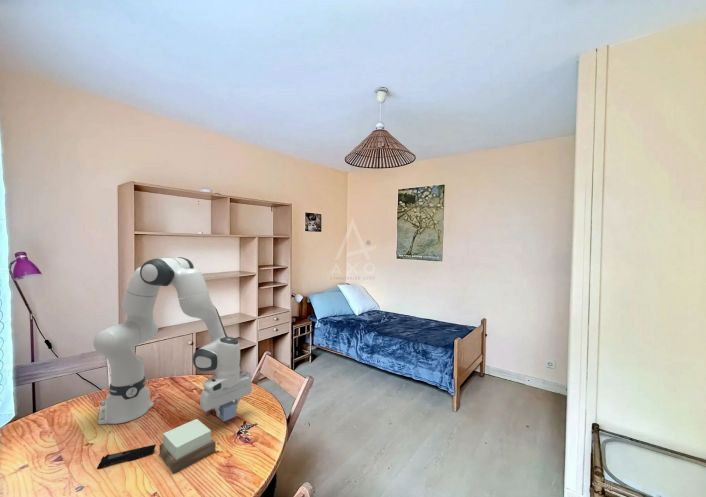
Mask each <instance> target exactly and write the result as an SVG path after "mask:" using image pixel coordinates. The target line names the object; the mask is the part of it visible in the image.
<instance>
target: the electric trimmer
mask: <svg viewBox="0 0 706 497" xmlns="http://www.w3.org/2000/svg"><path fill="white" fill-rule="evenodd" d="M156 446H157V444H151V445H147V446H142V447H138V448H133V449H129V450H128V449H127V450H125V451H124V450H123V451H121V452H117V453H112V454H106V455H105V456H104V455H103V456H102V457H101V460H100V462H99V463H98V466H97V467H96V469H98V470H101V469H102V468H104V467H106V466H110V465H113V464H118V463H120V462H121V463H122V462H125V461H133V460H136V459H140V458H142V457H144V456H148V455H150V454H153V453H154V451H155V448H156Z"/></svg>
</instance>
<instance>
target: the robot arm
mask: <svg viewBox="0 0 706 497" xmlns="http://www.w3.org/2000/svg"><path fill="white" fill-rule="evenodd" d="M169 285H171V286H173V287H174V288H175V291H176V294H177V298H178V302H179V307H180V308H181V311H182V313H184V314H185V315H186V316H187V317H191V318H194V319H199V320H201V321H202V322H204V324H205V326H206V328H207V331H208V334H209V337H210V342H209V343H207V344H205V345H203V346H201V347H200V348H198V349H197V350H195V352H194V353H193V356H192V365H193V366H194V368H195V369H197V370H198V371H201V372H211V371H215V374H214V375H213V376H211V377H209V378H208V379H206V380H205V381H204V382H203V384H202V387H203V389H202V391H201V393H200V401H199V407H200V409H201V410H202V411H204V412H205V413H206V412H207V411H208V410H211V409H213V410H214V409H215V410H216V412H215V413H216V414H215V415H216V417H218V418H219V416H221V415H222V411H221V410H218V409H219V408H220V406H221V405H223V404H226V403H228V402H231V401H233V402H234V403H236V410H238V405H239V404H240V401H241V398H243V397H245V396H248V395H250V394H251V393H252V390H253V386H252V373H251V372H249V371H246V372H243V373H240V372H241V371H240V370H241V368H240V361H241V345H240V342H239V340H238V339H237V338H235V337H233V336H228V335H227V332H226V329H225V328H224V324H223V321H222V319H221V316H220V314H219V310H218V309H217V308H216V306H215V305H214V303H213V301H212V299H211V296H210V294H209V293H210V292H209V288H208V285H207V283H206V280H205V278H204V275H203V274H202V272H201V271H200V270H199V269H196V268H195V267H194V264H193V262H192V261H191V260H190V259H188V258H186V257H180V256H179V257H174V256H173V257H172V256H170V257H169V256H168V257H163V258H162V257H161V258H153V259H152V258H151V259H149V260H146V261H145V262H144V263H142V265H141V266H139V267H137V268H136V269H135V271H134V272H133V273H132V276H131V278H130V280H129V282H128V284H127V288H126V290H125V293H124V296H123V299H122V302H121V307H120V308H121V310H122V311H123V312H124V313H125V314H126V320H125V321H124V322H122V323H121V322H120V323H119V324H115V325H112V326H111V325H110V326H109V327H107V328H105V329H103V330H101V331H99V332H98V333H97V334H95V336H94V338H93V347H94V351H95V352H97V353H98V354H99V355H102V356H104V357H105V358H106V359H107V361H108V363H109V366H110V384H109V387H108V393H107V395H106V398H105V399H104V400H101V401H100V407H99V411H98V419H97V420H98V421H97V425H106V424H108V425H109V424H111V425H117V424H123V423H126V422H130V421H134V420H136V419H138V418H139V417H142V416H144V415H145V414H146V413H147V412H148V410H150V409H151V408H152V407H154V406H155V404H154V402H153V401H151V399H150V388H149V387H147V386H146V376H145V359H144V358H143V357H141V356H140V355H137V354H136V351H135V350H136V349H135V348H136V346H139V345H141V344H144V343H146V342H148V341H150V340H151V339H153V338H154V337H155V336H156V335H157V333H158V331H159V325H158V322H157V320H155V319H154V314H153V312H154V308H155V304H156V301H157V297H158V294H159V291H160V288H161V287H167V286H168V287H169Z"/></svg>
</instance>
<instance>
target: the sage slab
mask: <svg viewBox="0 0 706 497" xmlns="http://www.w3.org/2000/svg"><path fill="white" fill-rule="evenodd" d="M211 438H212V429H210V428H209V427H208V426H206V425H205V424H204V423H203V422H202V421H200V420H199V419H198V418H196V419H193V420H191V421H189V422H186V423H184V424H182V425H179V426H177V427H175V428H173V429H170V430H168V431H166V432H163V433H162V443H163V446H164V447H165V448H166V449H167V450H168V451H169V453H170V454H171V455H172V456H173V457H174V458H175V459H176V460H178V459H180V458H182V457H183V456H185V455H187V454H189V453H191V452H193V451H195V450H197V449H199V448H201V447H203V446H205V445H207V444H208V443H210V442H211Z"/></svg>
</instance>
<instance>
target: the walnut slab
mask: <svg viewBox="0 0 706 497" xmlns="http://www.w3.org/2000/svg"><path fill="white" fill-rule="evenodd" d="M214 453H216V441H215V440H214V439H213V438H212V437H211V442H210V443H208V444H207V445H205V446H203V447H201V448H199V449H197V450H195V451H193V452H191V453H189V454H187V455H185V456H183V457H182V458H180V459H178V460H176V459H175V458H174V457H173V456H172V455H171V454H170V453H169V451H168V450H167V449H166V448H165V447H164V446H163V442H161V444H160V443H159V456H160V457H161V459H162V461H163V462H164V463H165V465H166V466H167V467H168V468H169V470H170V472H171V473H172V474H173V475H174V474H177V473H179V472H180V471H182V470H184V469H186V468H187V467H190V466H192V465H193V464H196V463H197V462H199V461H201V460H203V459H205V458H206V457H209V456H210V455H213V454H214Z"/></svg>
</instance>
